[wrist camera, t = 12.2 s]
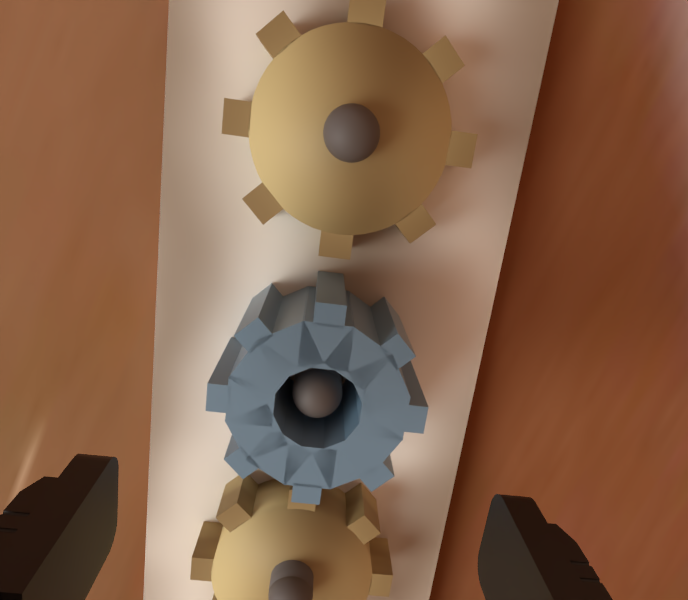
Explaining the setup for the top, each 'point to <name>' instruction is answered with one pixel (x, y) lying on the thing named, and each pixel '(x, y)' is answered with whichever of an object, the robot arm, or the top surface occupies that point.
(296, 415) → the loose gear
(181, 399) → the gear board
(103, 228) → the top surface
